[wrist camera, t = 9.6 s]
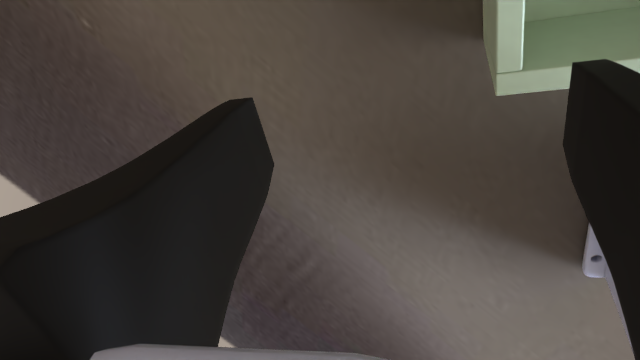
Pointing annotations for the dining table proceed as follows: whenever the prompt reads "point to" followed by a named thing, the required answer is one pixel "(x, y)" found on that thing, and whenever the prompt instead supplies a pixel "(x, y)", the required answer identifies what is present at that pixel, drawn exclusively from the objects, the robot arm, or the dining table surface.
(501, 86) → the desk tray
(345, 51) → the dining table surface
